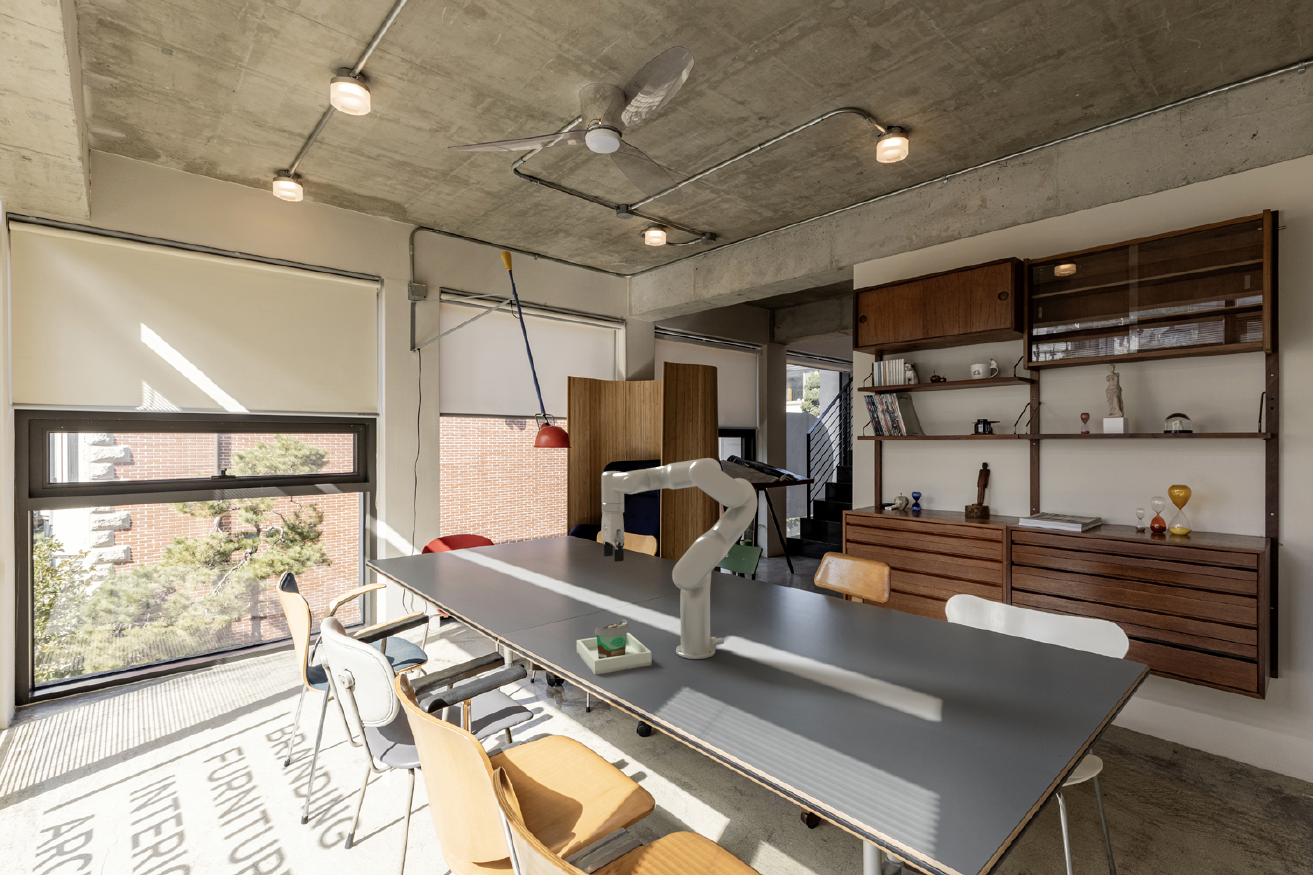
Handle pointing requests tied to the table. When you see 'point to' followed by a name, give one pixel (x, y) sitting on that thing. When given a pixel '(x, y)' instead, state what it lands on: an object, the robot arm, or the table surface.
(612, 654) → the food container
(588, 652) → the tray
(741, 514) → the robot arm
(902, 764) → the table surface
